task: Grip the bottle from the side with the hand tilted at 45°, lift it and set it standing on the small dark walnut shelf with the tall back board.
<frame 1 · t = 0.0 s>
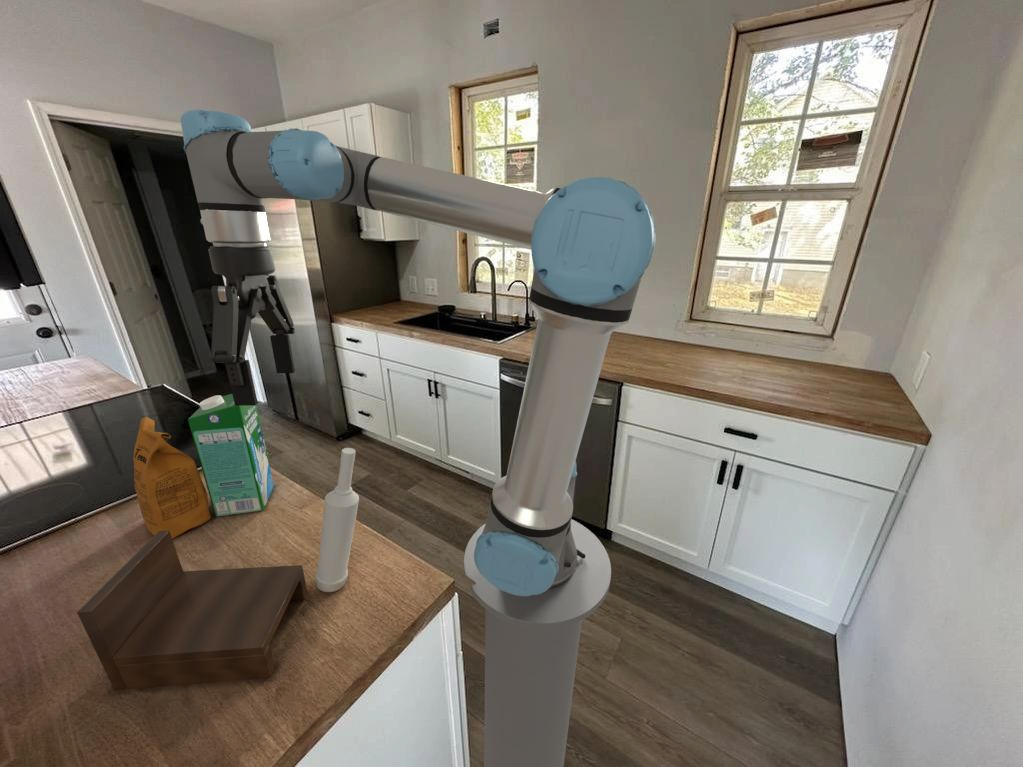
hand: (268, 387, 64), 34 cm above the worktop, tool pointing down, fingers open, 13 cm apart
bottle: (330, 582, 70), on the worktop
coffee package: (180, 521, 84), on the worktop
shelf: (228, 635, 61), on the worktop
milk carton: (246, 501, 91), on the worktop
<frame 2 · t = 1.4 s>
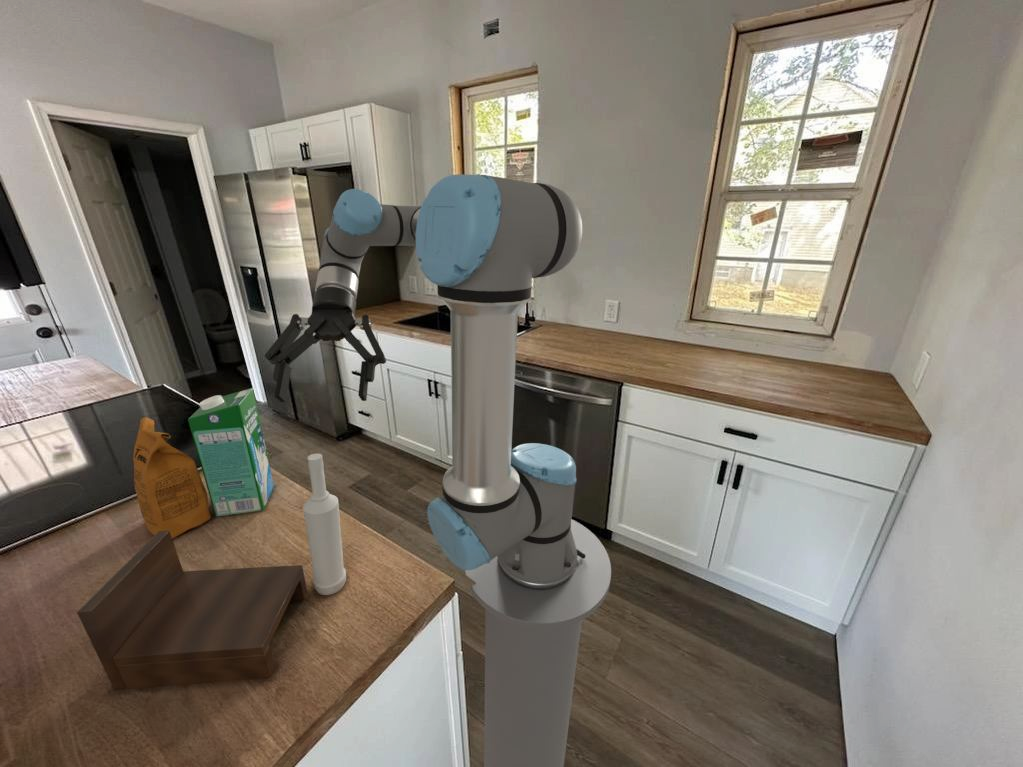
hand: (321, 398, 71), 30 cm above the worktop, tool tilted 45°, fingers open, 13 cm apart
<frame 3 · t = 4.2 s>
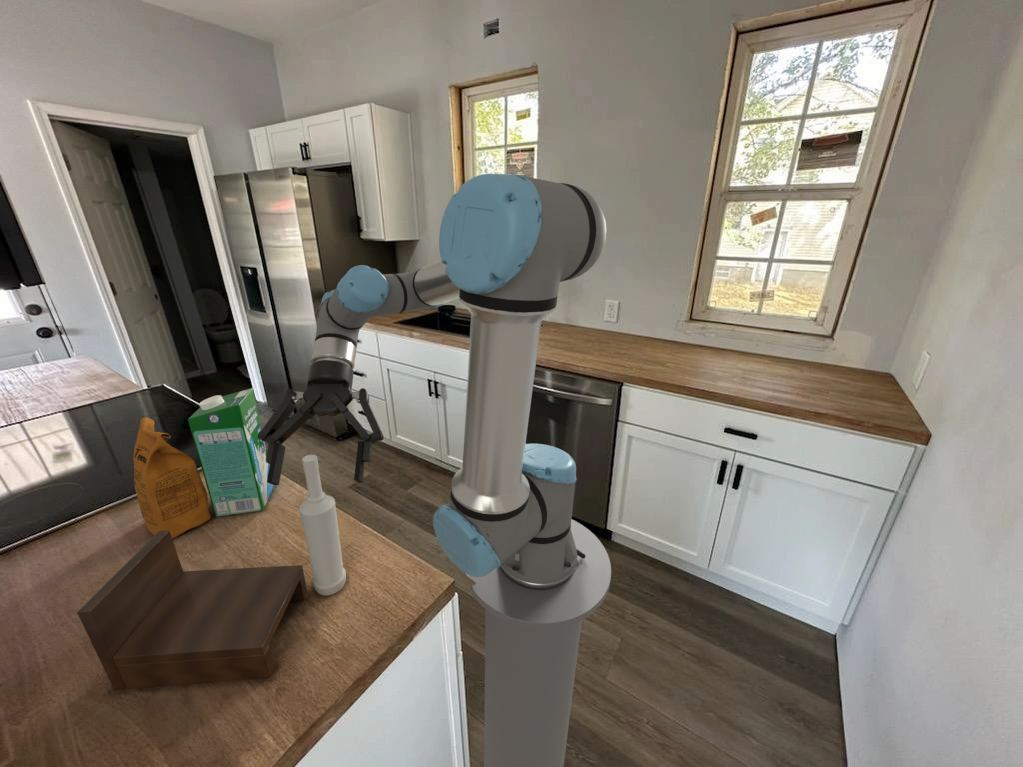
hand: (316, 482, 68), 18 cm above the worktop, tool tilted 45°, fingers open, 13 cm apart
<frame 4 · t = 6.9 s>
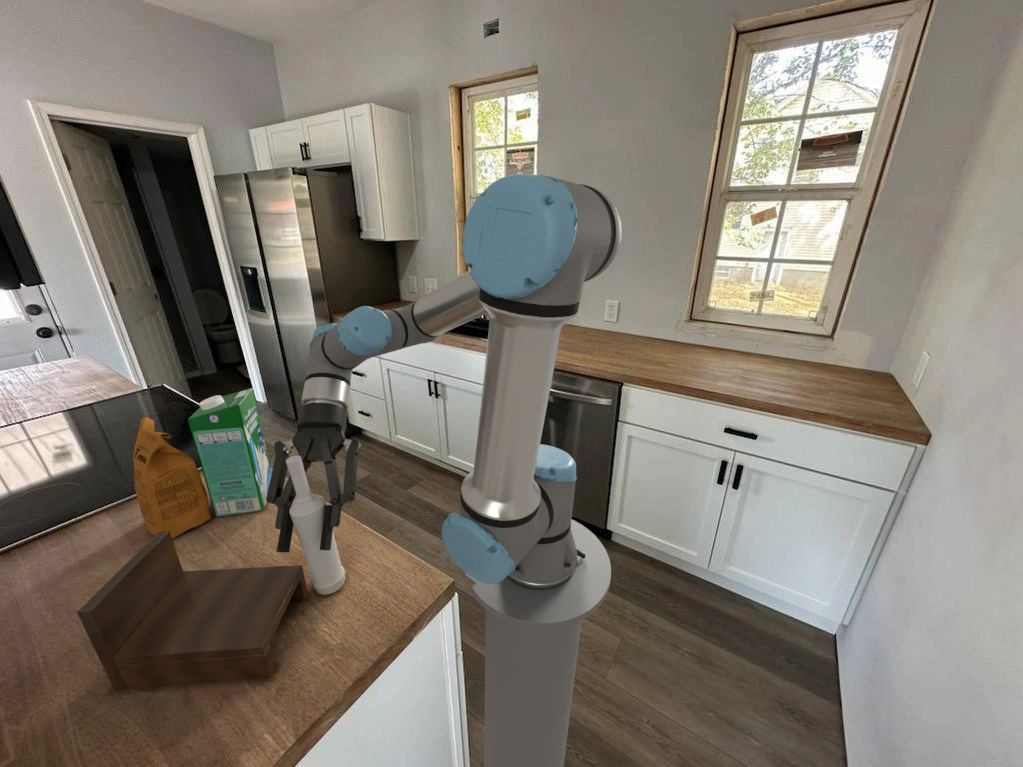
hand: (304, 550, 63), 11 cm above the worktop, tool tilted 45°, fingers closed on bottle, 5 cm apart
bottle: (331, 584, 71), on the worktop, touching gripper
everything else where it was.
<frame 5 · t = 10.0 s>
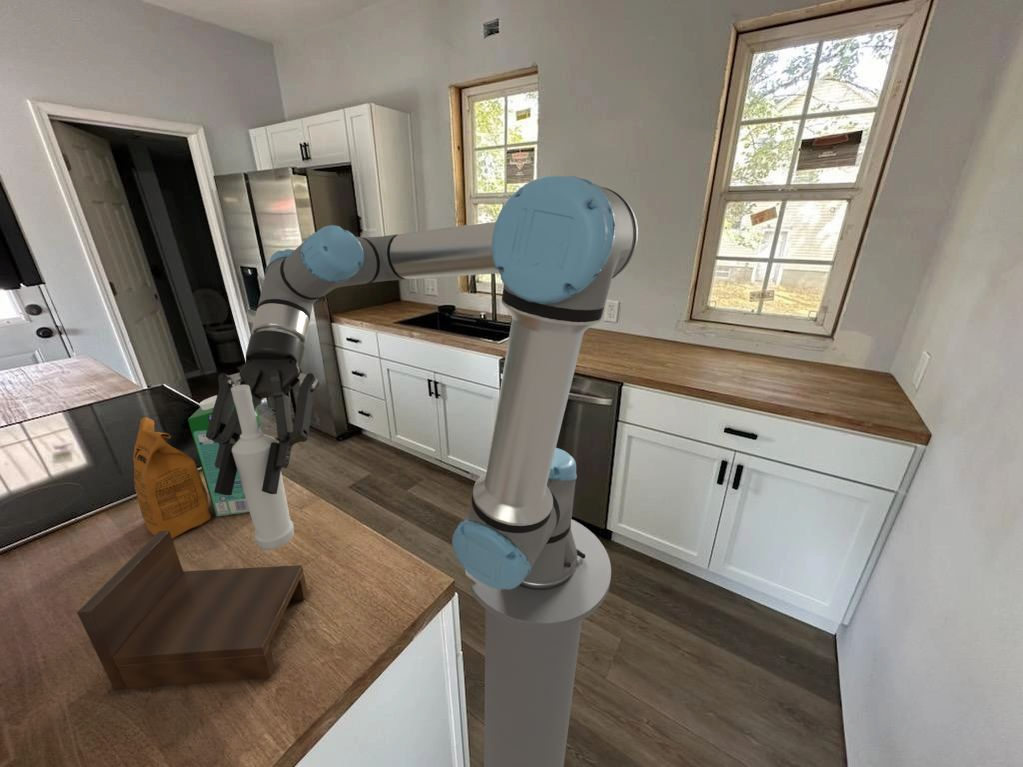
hand: (246, 492, 54), 24 cm above the worktop, tool tilted 45°, fingers closed on bottle, 5 cm apart
bottle: (276, 539, 63), point 13 cm above the worktop, touching gripper
everything else where it was.
when the fingers open (18 cm above the worktop, at t = 13.3 s): bottle stays where it is, resting on shelf.
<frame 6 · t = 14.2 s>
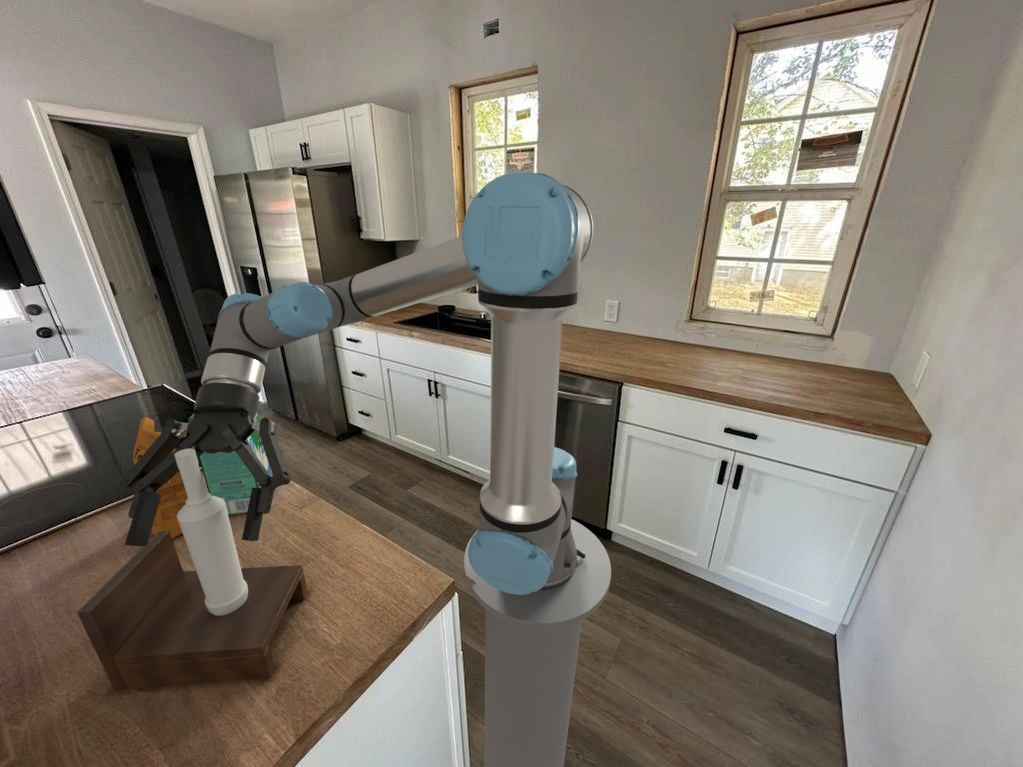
hand: (193, 543, 52), 19 cm above the worktop, tool tilted 45°, fingers open, 13 cm apart
bottle: (229, 602, 60), point 6 cm above the worktop, touching shelf
everything else where it was.
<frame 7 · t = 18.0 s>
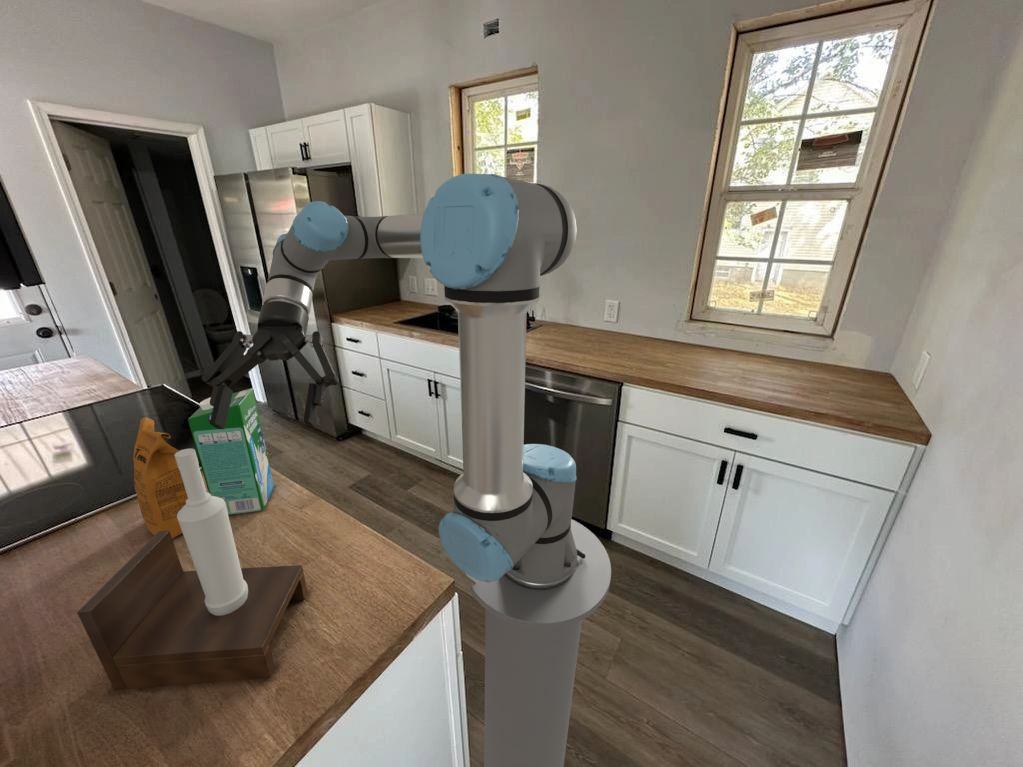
hand: (263, 425, 64), 28 cm above the worktop, tool tilted 45°, fingers open, 13 cm apart
nothing on the worktop moved.
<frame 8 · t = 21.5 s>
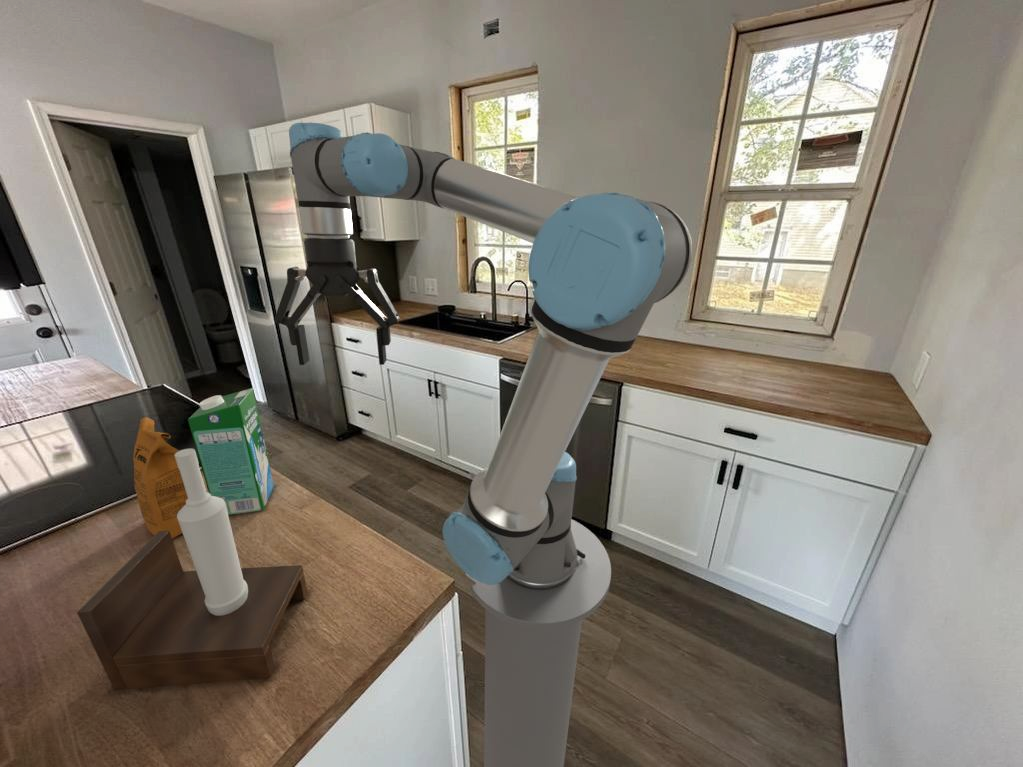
hand: (344, 362, 74), 35 cm above the worktop, tool pointing down, fingers open, 13 cm apart
nothing on the worktop moved.
at the end: bottle inside the target area on the shelf (1.0 cm from its centre), point 5.8 cm above the shelf's base; bottle tilted 0°; the gripper is holding nothing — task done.
